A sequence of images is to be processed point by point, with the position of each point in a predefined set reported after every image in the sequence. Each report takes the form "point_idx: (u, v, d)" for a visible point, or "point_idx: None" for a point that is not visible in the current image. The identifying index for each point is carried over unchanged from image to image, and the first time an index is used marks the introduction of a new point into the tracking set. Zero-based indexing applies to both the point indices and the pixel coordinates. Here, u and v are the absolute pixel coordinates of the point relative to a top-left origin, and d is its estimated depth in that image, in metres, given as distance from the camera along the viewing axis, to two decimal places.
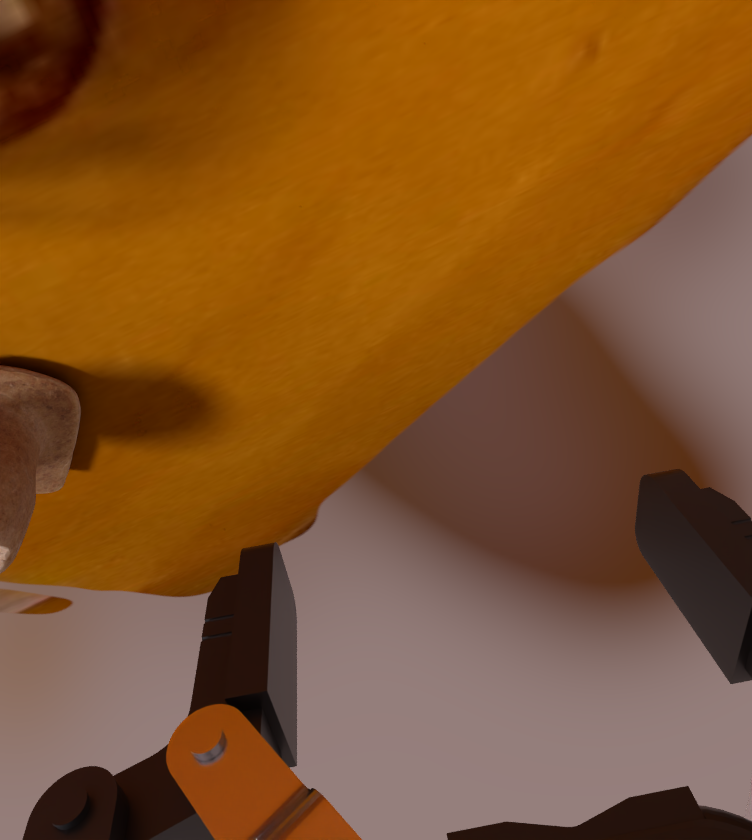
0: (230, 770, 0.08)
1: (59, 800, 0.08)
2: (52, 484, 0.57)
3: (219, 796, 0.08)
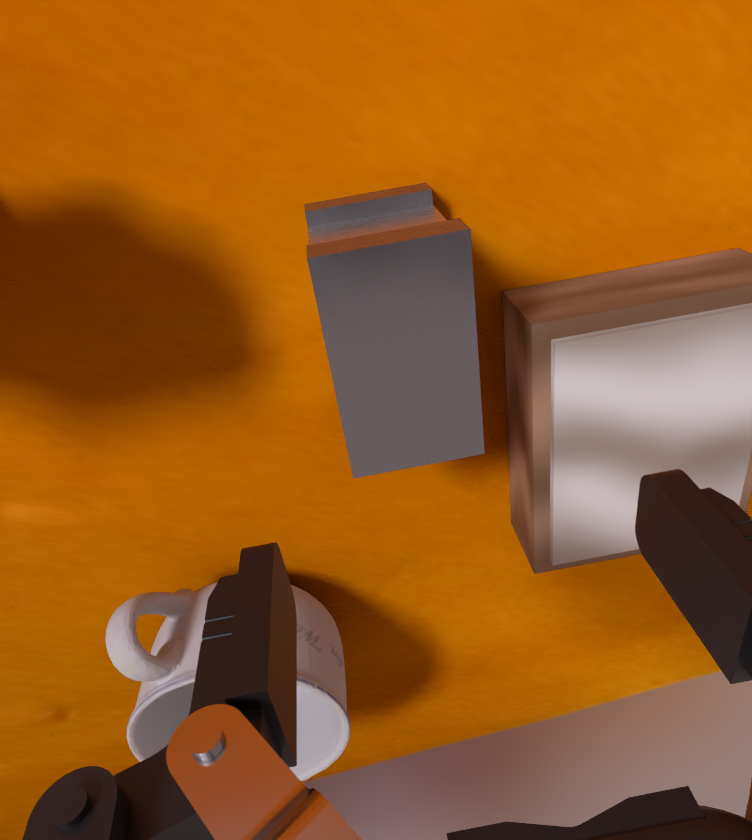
0: (231, 770, 0.09)
1: (58, 800, 0.08)
2: None
3: (219, 796, 0.08)
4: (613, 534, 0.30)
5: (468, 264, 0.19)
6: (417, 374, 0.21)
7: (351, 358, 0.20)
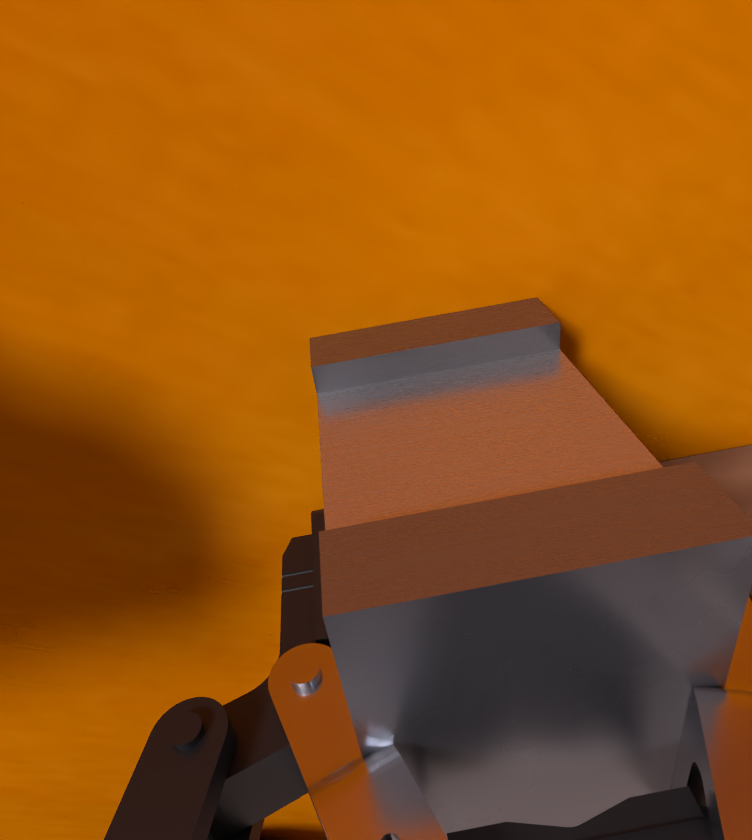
0: (321, 706, 0.09)
1: (178, 721, 0.09)
2: None
3: (324, 720, 0.09)
4: None
5: (736, 601, 0.07)
6: (567, 784, 0.09)
7: (422, 774, 0.09)
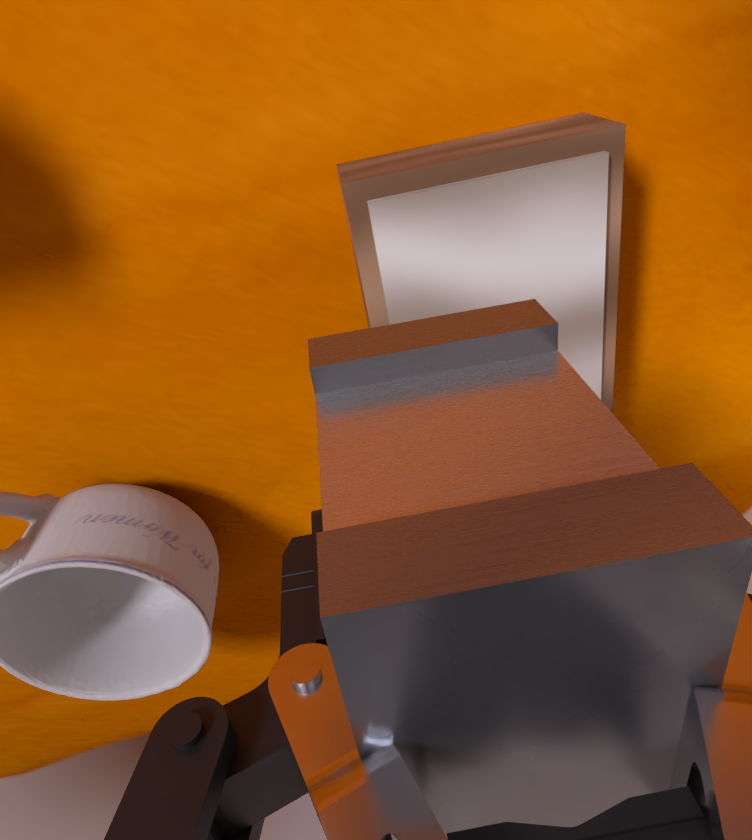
0: (321, 705, 0.09)
1: (178, 721, 0.09)
2: None
3: (324, 721, 0.09)
4: None
5: (733, 602, 0.07)
6: (564, 785, 0.09)
7: (420, 775, 0.09)
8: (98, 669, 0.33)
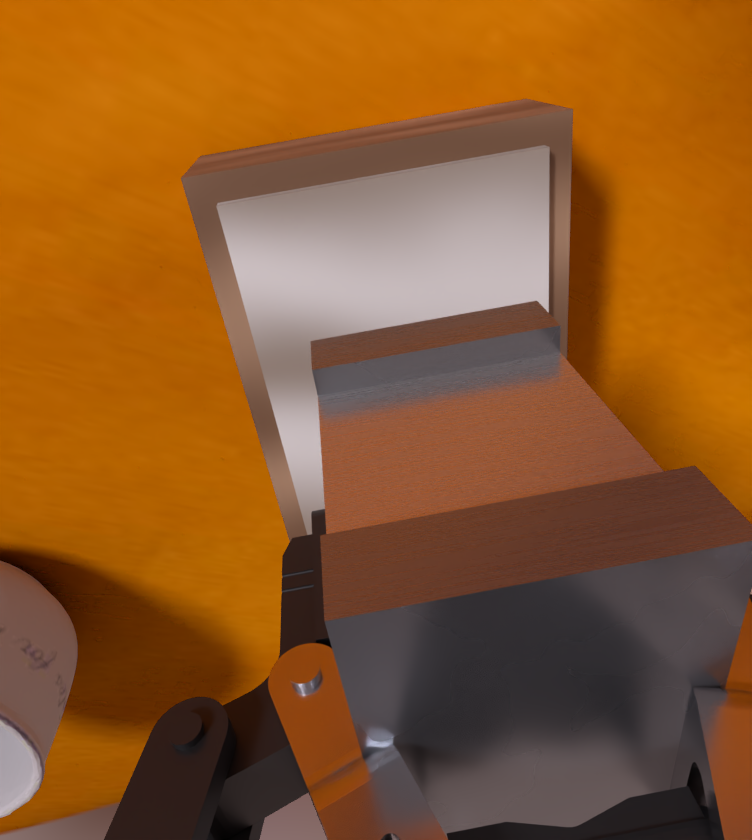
0: (321, 706, 0.09)
1: (178, 721, 0.09)
2: None
3: (324, 721, 0.09)
4: None
5: (737, 605, 0.07)
6: (568, 787, 0.09)
7: (423, 777, 0.09)
8: None
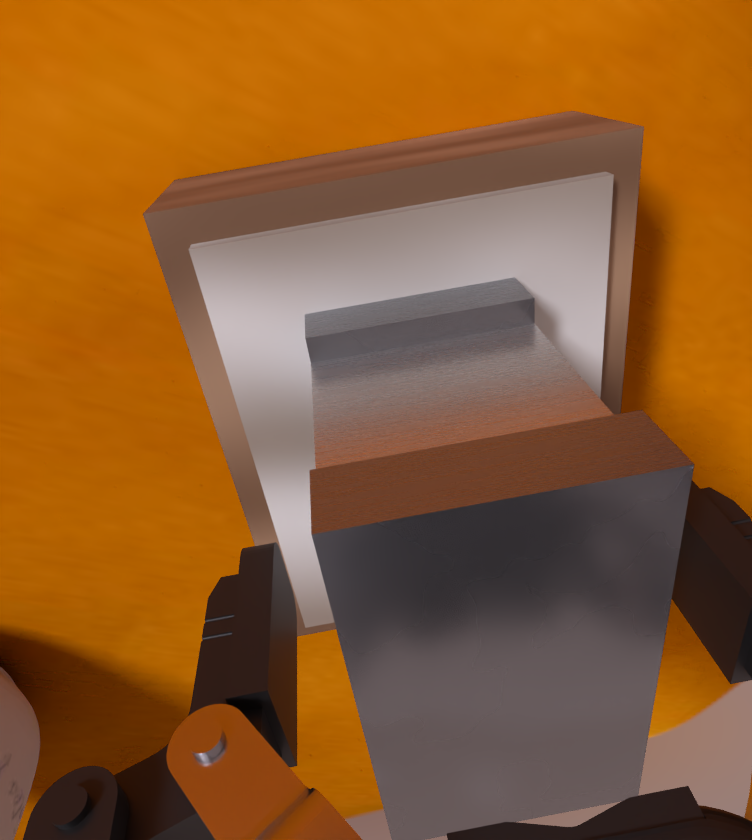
0: (231, 770, 0.08)
1: (59, 799, 0.08)
2: None
3: (219, 796, 0.08)
4: None
5: (674, 528, 0.08)
6: (533, 705, 0.10)
7: (402, 691, 0.10)
8: None
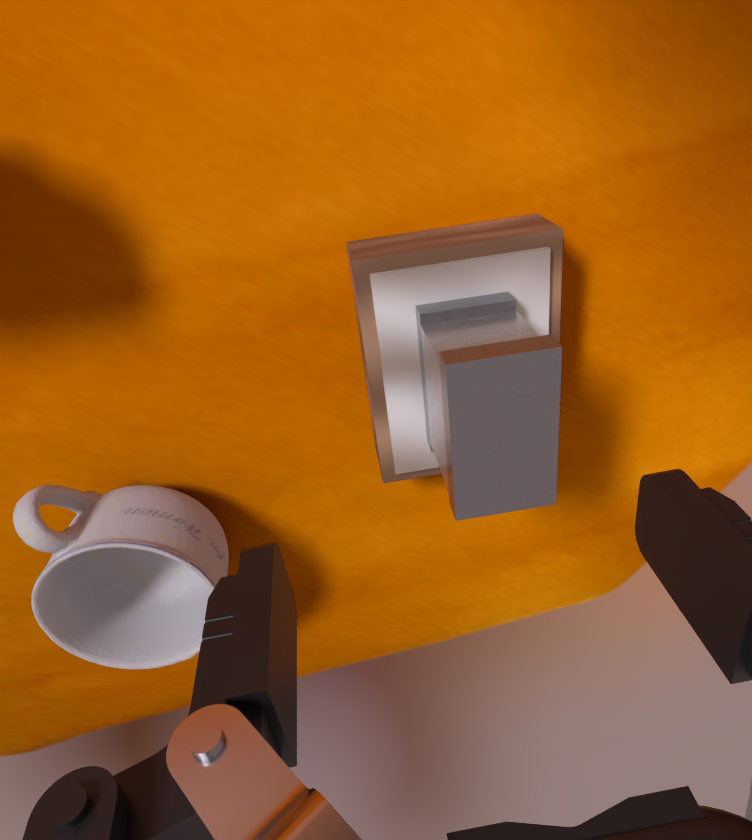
0: (231, 770, 0.09)
1: (58, 800, 0.08)
2: None
3: (219, 796, 0.08)
4: None
5: (558, 369, 0.26)
6: (513, 445, 0.28)
7: (466, 433, 0.27)
8: (121, 643, 0.40)
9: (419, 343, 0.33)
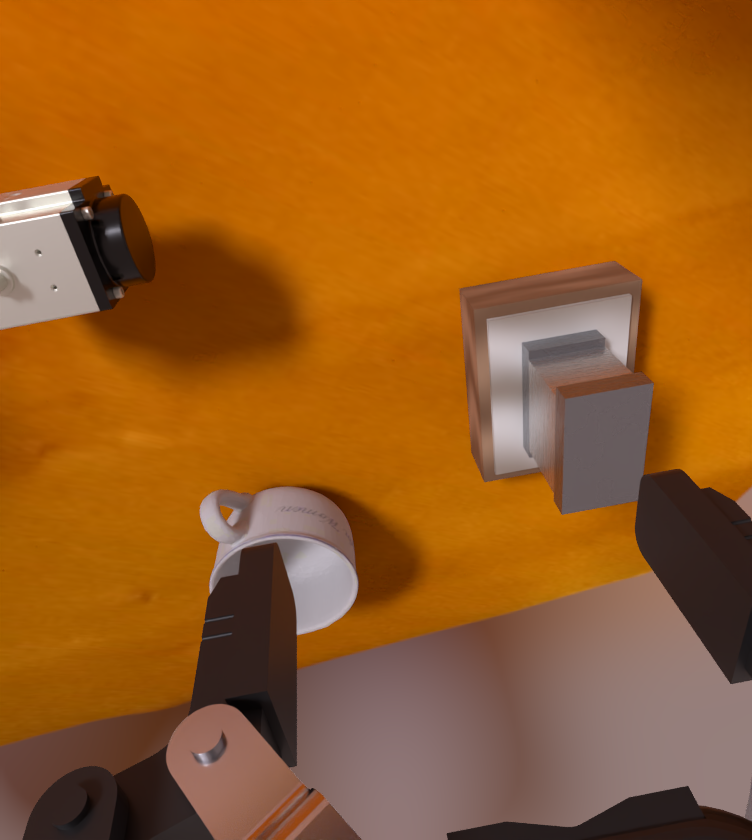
0: (230, 770, 0.08)
1: (58, 800, 0.08)
2: None
3: (219, 796, 0.08)
4: None
5: (649, 400, 0.34)
6: (610, 456, 0.36)
7: (576, 448, 0.35)
8: None
9: (524, 372, 0.41)
